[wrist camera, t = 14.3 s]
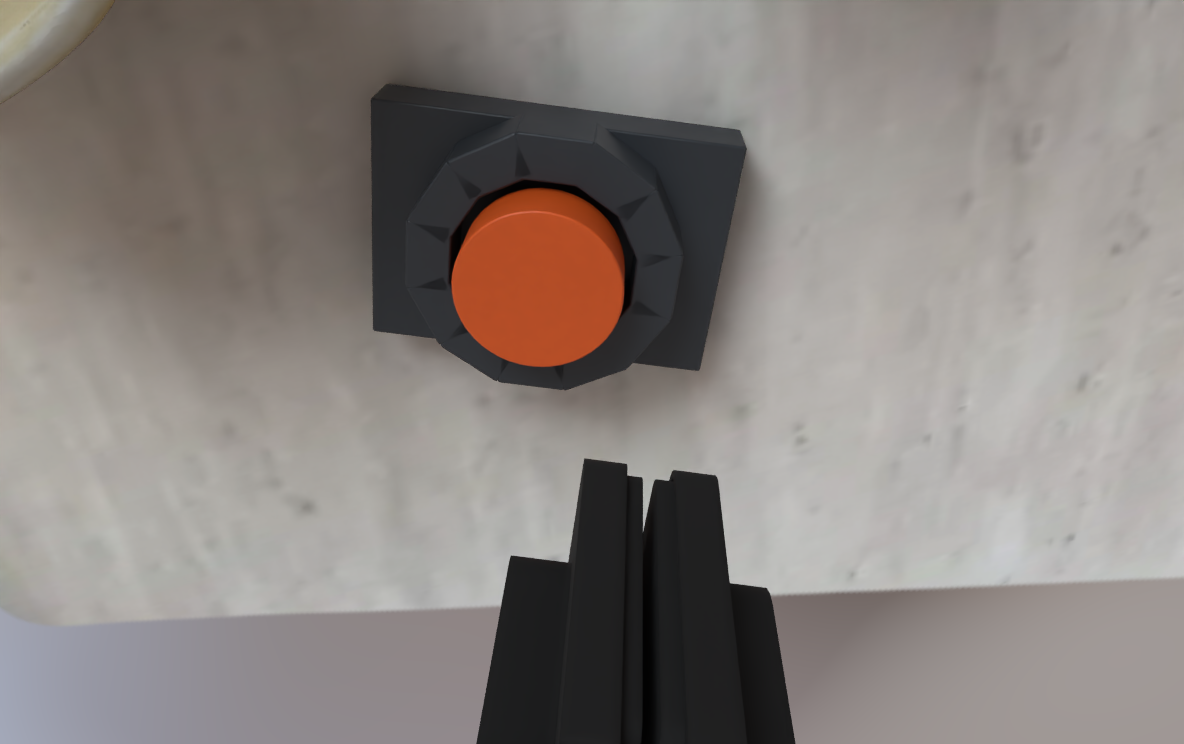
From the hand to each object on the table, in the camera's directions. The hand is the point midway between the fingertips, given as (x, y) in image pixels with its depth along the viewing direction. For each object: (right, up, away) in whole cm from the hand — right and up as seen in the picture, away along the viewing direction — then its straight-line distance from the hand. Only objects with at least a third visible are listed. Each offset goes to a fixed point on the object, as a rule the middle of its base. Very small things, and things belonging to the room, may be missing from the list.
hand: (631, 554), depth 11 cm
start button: (-2, +5, +13) cm, 14 cm away
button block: (-2, +7, +15) cm, 17 cm away
